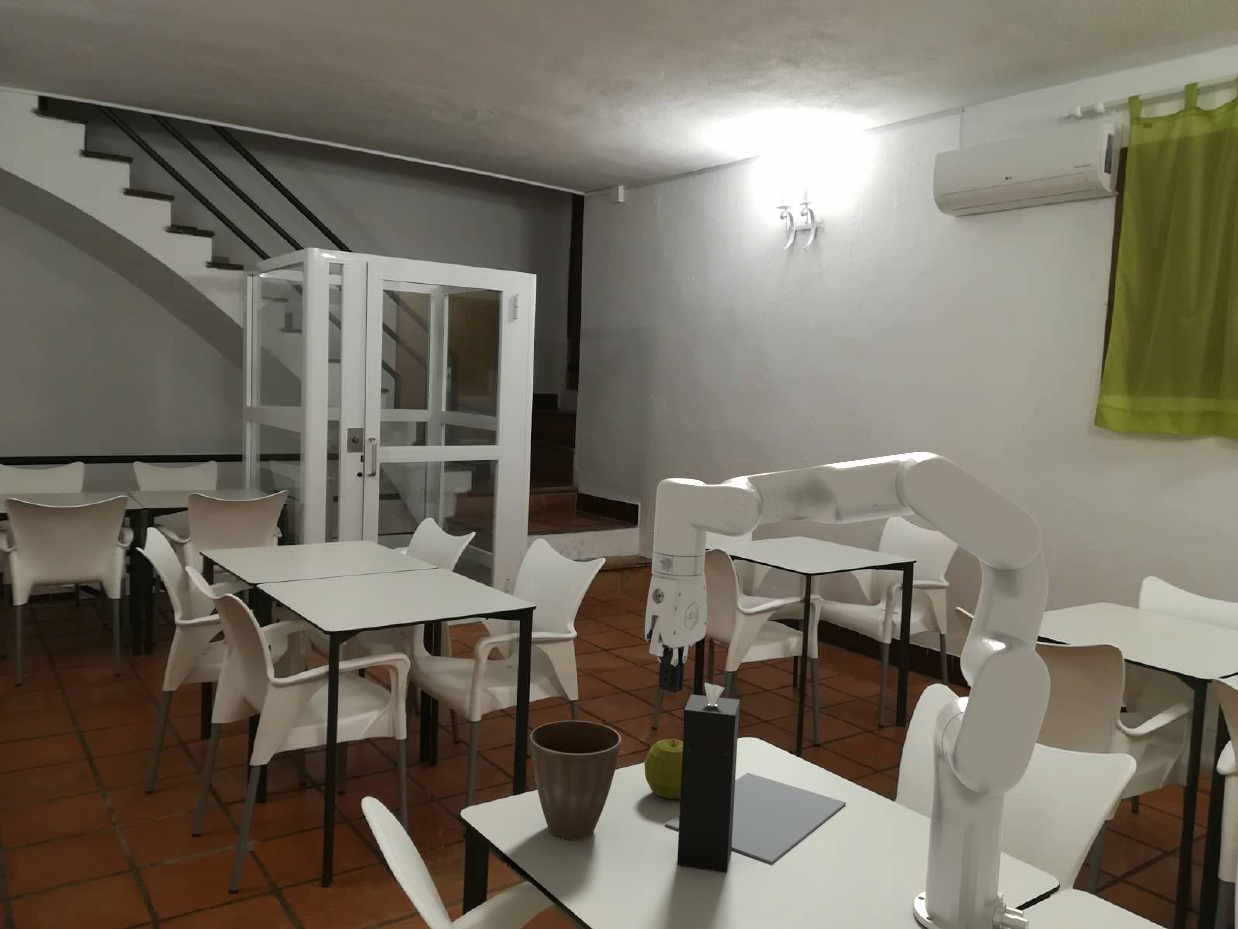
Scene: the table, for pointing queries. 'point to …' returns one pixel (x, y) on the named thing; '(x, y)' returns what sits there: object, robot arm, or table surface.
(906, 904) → the table surface
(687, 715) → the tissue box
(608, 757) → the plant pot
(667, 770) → the apple
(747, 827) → the mat
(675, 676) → the robot arm
